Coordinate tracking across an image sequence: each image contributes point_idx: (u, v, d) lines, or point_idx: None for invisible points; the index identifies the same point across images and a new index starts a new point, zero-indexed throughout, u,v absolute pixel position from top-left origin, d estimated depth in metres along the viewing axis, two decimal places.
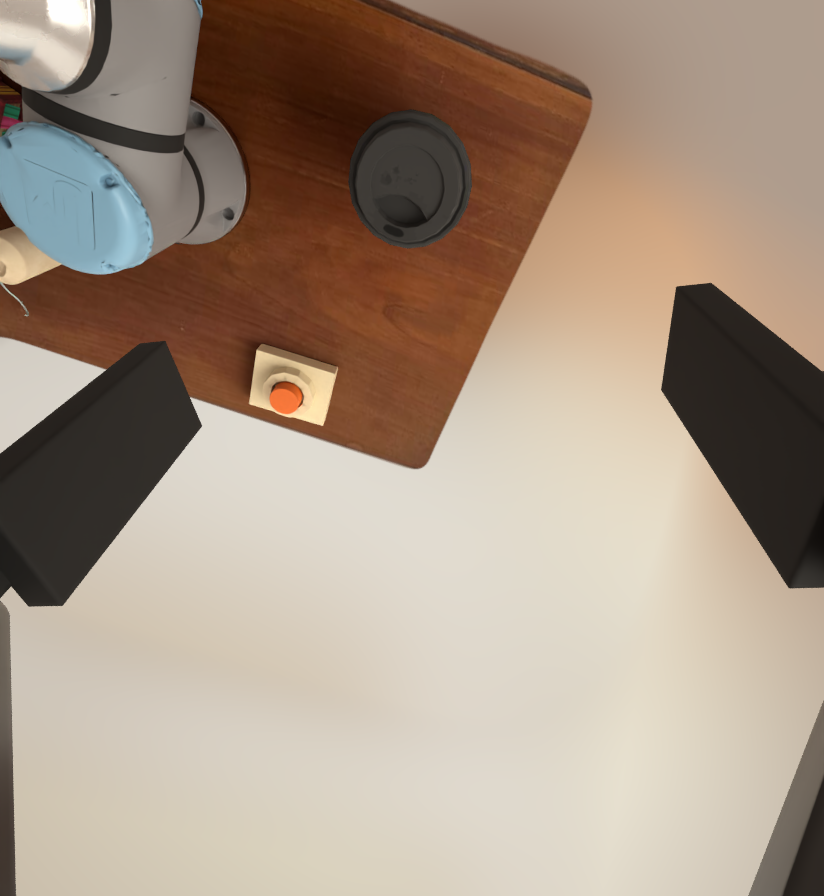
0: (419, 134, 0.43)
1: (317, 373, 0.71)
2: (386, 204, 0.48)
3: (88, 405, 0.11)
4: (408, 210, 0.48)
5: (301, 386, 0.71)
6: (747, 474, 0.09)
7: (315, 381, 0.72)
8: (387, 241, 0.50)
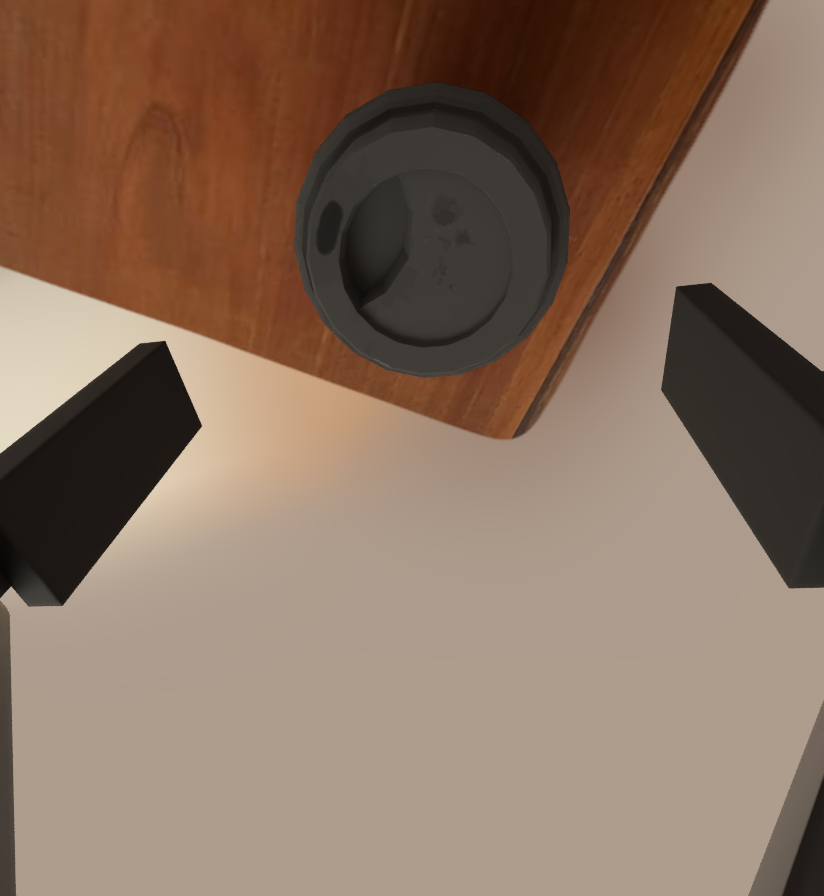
0: (530, 297, 0.20)
1: None
2: (387, 200, 0.20)
3: (88, 405, 0.11)
4: (377, 255, 0.21)
5: None
6: (747, 473, 0.09)
7: None
8: (302, 197, 0.20)
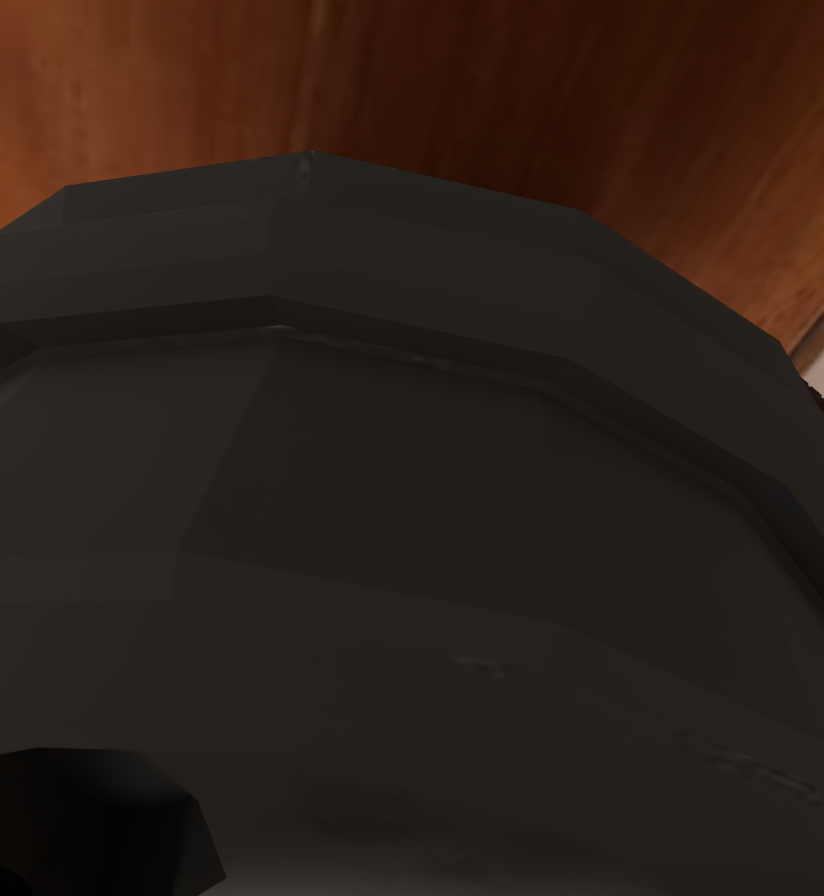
0: None
1: None
2: None
3: None
4: (142, 760, 0.06)
5: None
6: None
7: None
8: None
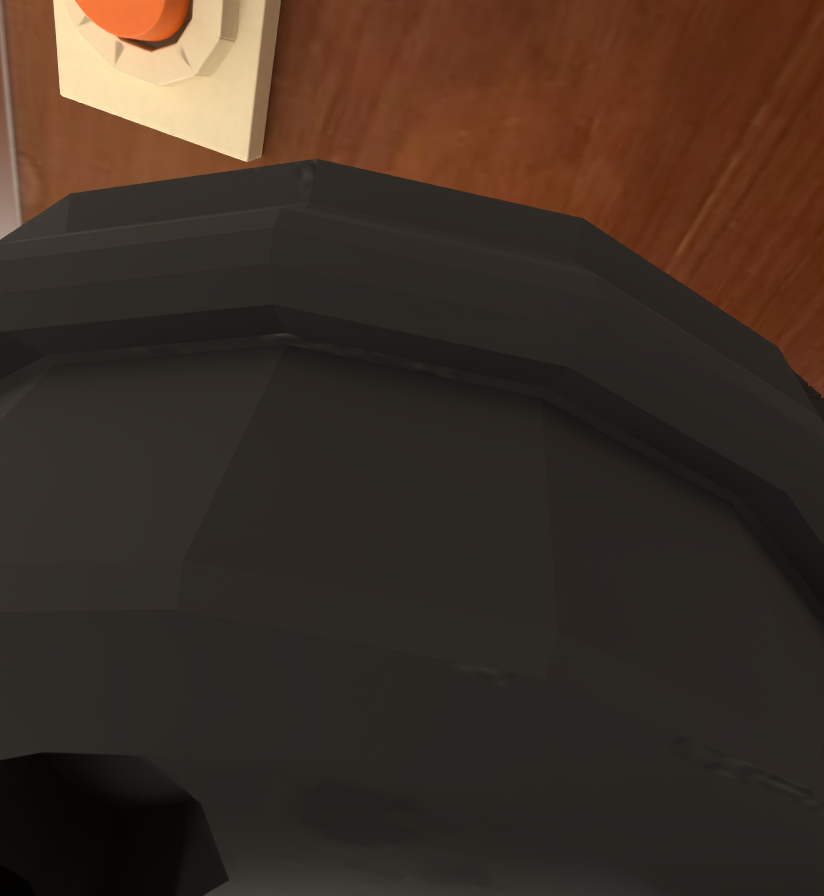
0: None
1: (238, 102, 0.24)
2: None
3: None
4: (144, 763, 0.06)
5: (186, 47, 0.21)
6: None
7: (208, 91, 0.24)
8: None
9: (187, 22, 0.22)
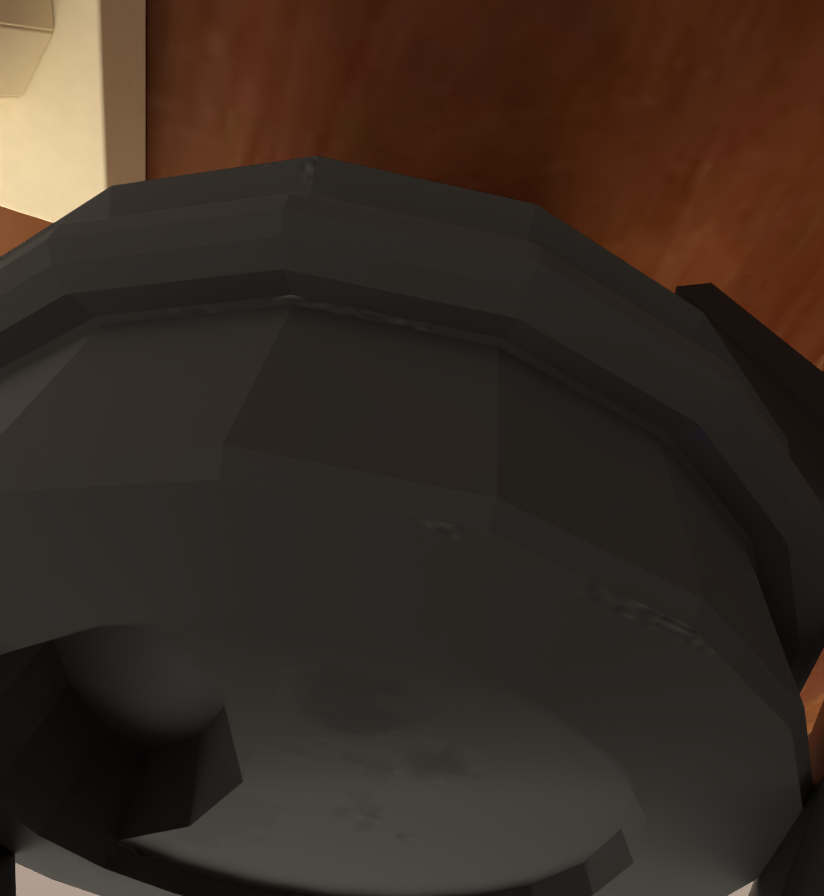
0: None
1: (77, 142, 0.13)
2: None
3: None
4: (164, 693, 0.06)
5: None
6: None
7: (22, 124, 0.13)
8: None
9: None
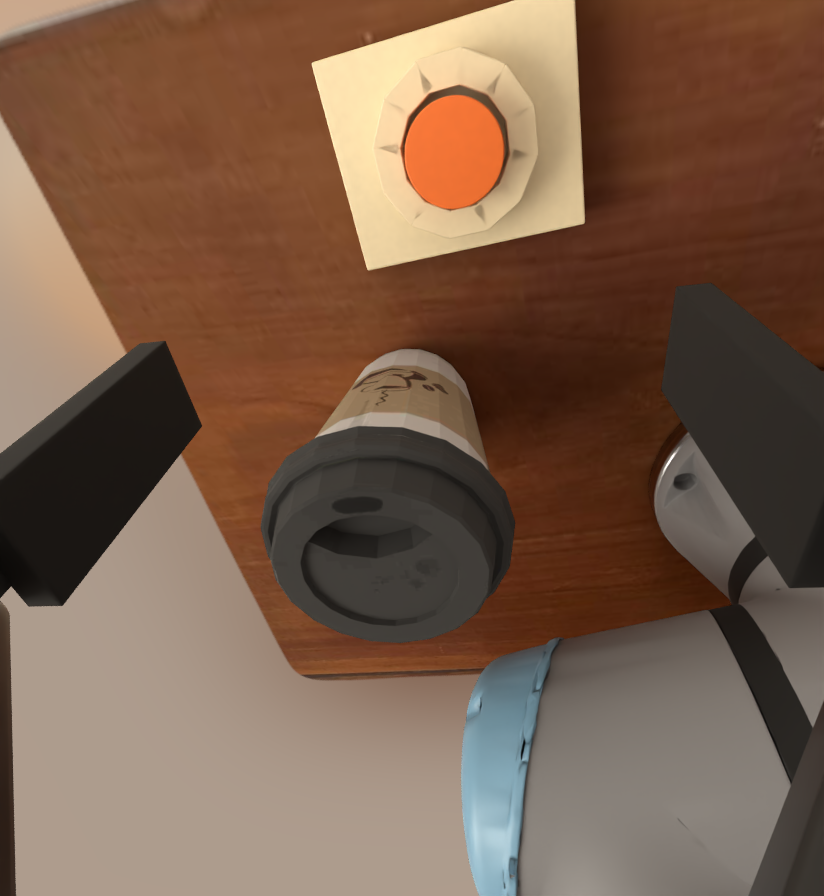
0: (407, 637, 0.24)
1: (408, 248, 0.26)
2: None
3: (88, 405, 0.11)
4: (358, 521, 0.21)
5: (427, 212, 0.24)
6: (747, 474, 0.09)
7: (401, 218, 0.26)
8: (362, 448, 0.20)
9: None
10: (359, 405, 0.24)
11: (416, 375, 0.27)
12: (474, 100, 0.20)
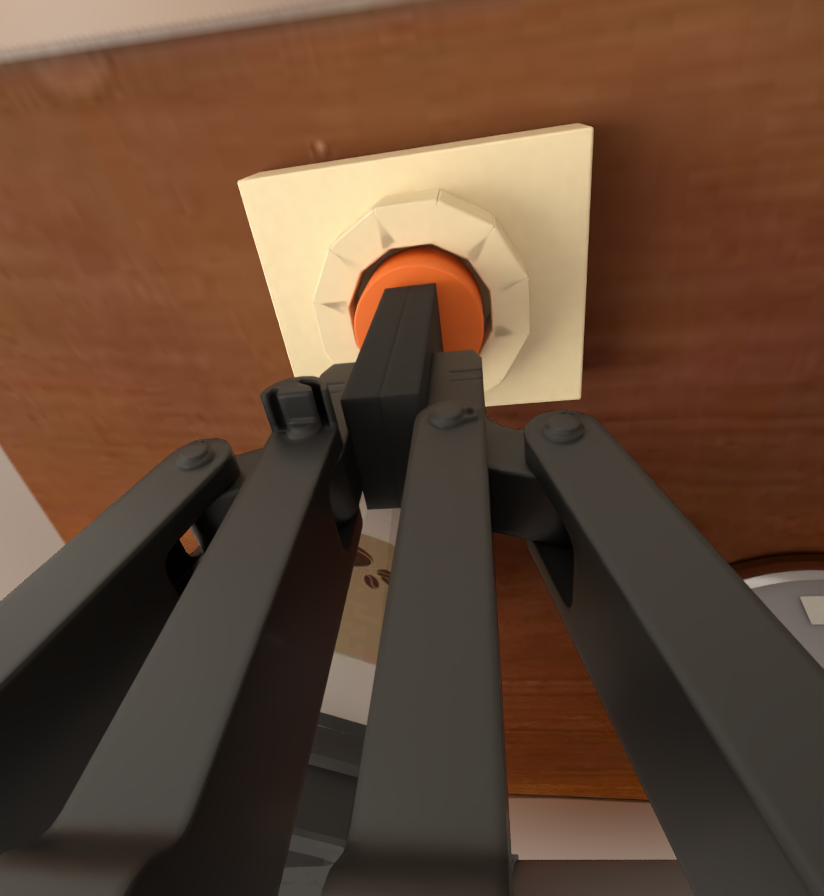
0: None
1: None
2: None
3: (396, 332, 0.12)
4: None
5: None
6: None
7: None
8: None
9: None
10: None
11: (358, 555, 0.22)
12: (448, 273, 0.15)
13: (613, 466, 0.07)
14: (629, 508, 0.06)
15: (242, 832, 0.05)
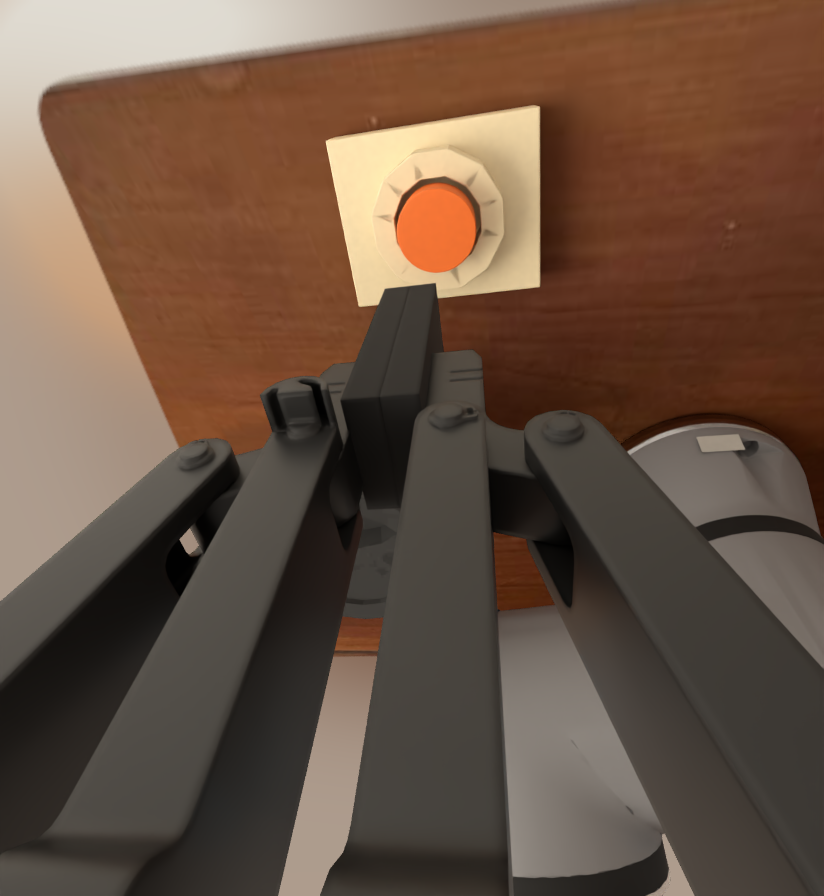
0: (371, 615, 0.29)
1: None
2: None
3: (396, 332, 0.12)
4: None
5: (412, 269, 0.29)
6: None
7: (390, 268, 0.31)
8: None
9: None
10: None
11: None
12: (454, 194, 0.25)
13: (613, 466, 0.07)
14: (629, 508, 0.06)
15: (241, 832, 0.05)
